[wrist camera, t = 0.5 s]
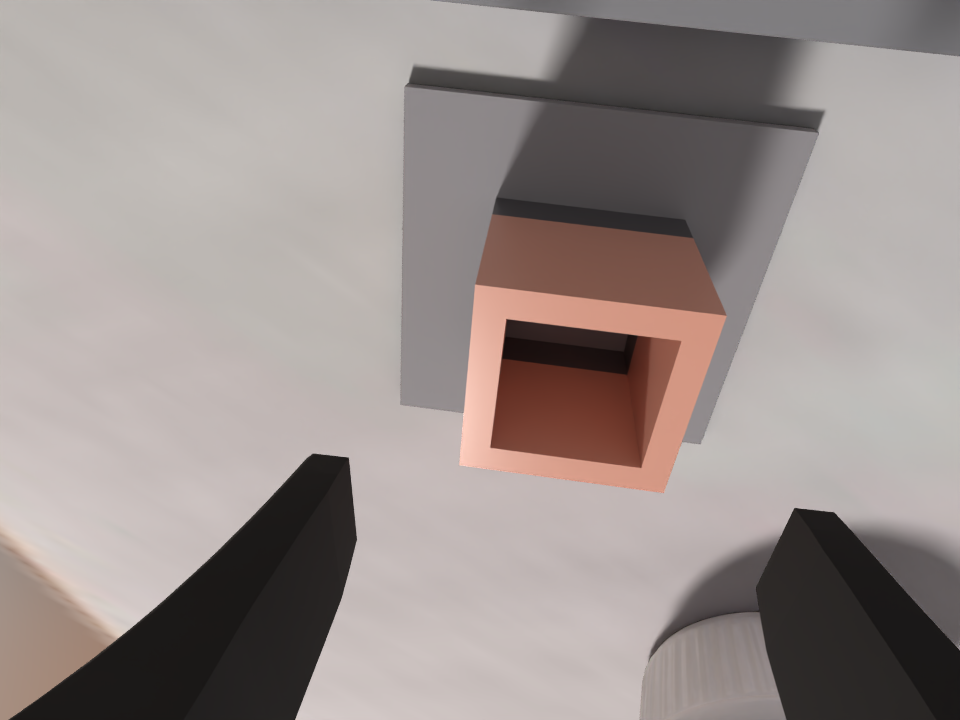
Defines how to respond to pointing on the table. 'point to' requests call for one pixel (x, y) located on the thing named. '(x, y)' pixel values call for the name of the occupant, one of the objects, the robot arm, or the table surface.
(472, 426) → the sleeve
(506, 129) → the mat
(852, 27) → the pin board
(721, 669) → the ramekin
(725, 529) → the table surface
